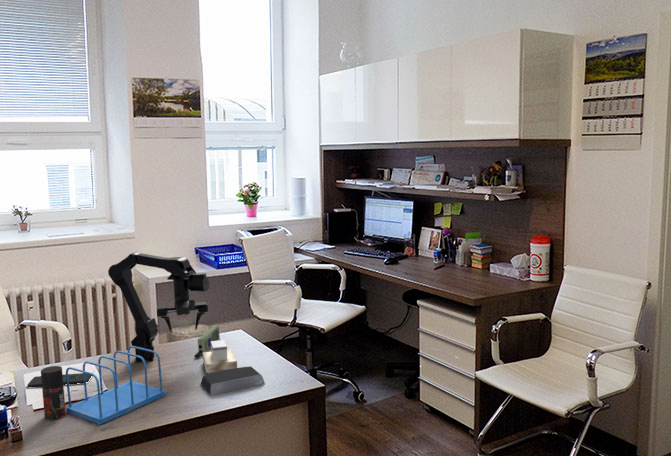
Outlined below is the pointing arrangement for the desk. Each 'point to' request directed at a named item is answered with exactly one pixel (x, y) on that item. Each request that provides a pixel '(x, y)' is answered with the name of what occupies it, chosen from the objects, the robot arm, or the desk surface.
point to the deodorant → (53, 393)
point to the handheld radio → (207, 339)
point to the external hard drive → (231, 380)
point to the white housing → (219, 350)
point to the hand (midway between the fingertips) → (183, 330)
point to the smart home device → (72, 379)
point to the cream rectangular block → (219, 362)
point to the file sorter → (114, 393)
